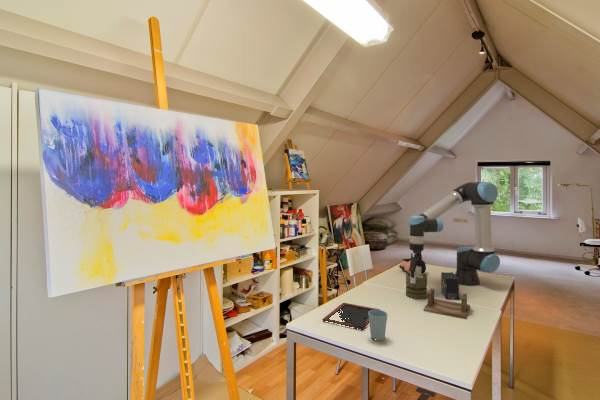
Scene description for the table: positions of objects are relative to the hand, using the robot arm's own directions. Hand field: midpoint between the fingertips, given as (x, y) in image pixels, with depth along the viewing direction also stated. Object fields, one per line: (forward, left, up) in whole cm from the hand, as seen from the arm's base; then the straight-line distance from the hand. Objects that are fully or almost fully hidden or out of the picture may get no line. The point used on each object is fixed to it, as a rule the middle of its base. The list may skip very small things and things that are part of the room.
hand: (415, 280), depth 185 cm
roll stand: (+12, +18, -9) cm, 23 cm away
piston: (0, 0, -9) cm, 9 cm away
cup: (+61, -1, -9) cm, 61 cm away
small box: (-10, +16, -9) cm, 21 cm away
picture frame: (+46, -19, -10) cm, 51 cm away
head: (-48, -14, -9) cm, 51 cm away
